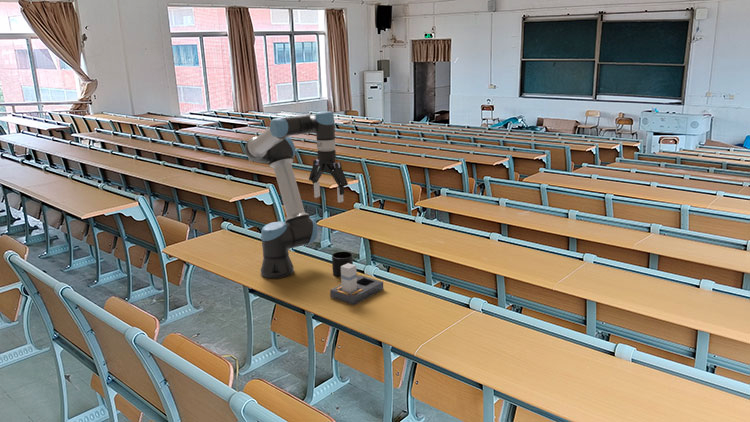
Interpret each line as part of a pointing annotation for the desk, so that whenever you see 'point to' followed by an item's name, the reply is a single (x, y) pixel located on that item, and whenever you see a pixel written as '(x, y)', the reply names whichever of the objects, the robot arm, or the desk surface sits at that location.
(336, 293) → the jack panel
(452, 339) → the desk surface
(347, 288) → the plug
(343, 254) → the mug
